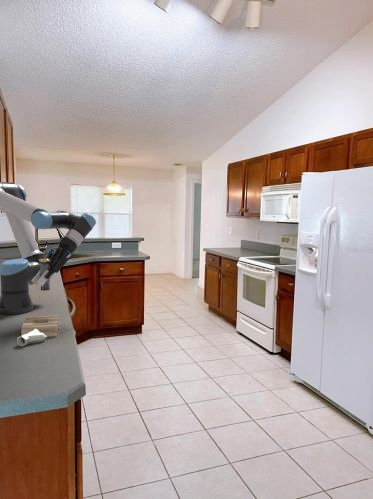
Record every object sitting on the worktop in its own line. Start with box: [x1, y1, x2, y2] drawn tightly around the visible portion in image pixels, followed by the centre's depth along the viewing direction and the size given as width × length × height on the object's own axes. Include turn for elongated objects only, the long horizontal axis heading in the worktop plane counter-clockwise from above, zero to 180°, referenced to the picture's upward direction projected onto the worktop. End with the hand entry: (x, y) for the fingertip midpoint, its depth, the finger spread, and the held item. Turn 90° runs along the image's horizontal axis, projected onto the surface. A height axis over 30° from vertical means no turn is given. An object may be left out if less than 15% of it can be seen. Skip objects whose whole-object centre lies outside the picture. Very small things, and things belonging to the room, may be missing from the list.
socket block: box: [20, 314, 60, 337], centre depth 134 cm, size 14×12×4 cm
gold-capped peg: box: [39, 259, 51, 292], centre depth 147 cm, size 4×4×13 cm
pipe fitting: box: [16, 329, 47, 347], centre depth 122 cm, size 8×4×7 cm
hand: (36, 283), depth 144 cm, fingers closed on gold-capped peg, 3 cm apart
